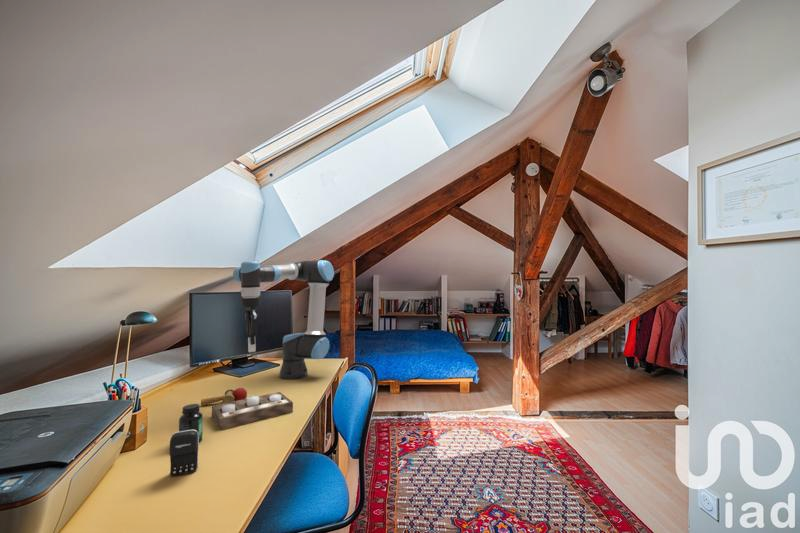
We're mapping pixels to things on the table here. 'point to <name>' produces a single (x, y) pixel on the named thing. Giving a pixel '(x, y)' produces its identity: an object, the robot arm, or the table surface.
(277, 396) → the button
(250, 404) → the button middle
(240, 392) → the kendama
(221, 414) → the button board
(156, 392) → the table surface
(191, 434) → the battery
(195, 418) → the supplement bottle
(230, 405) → the button
